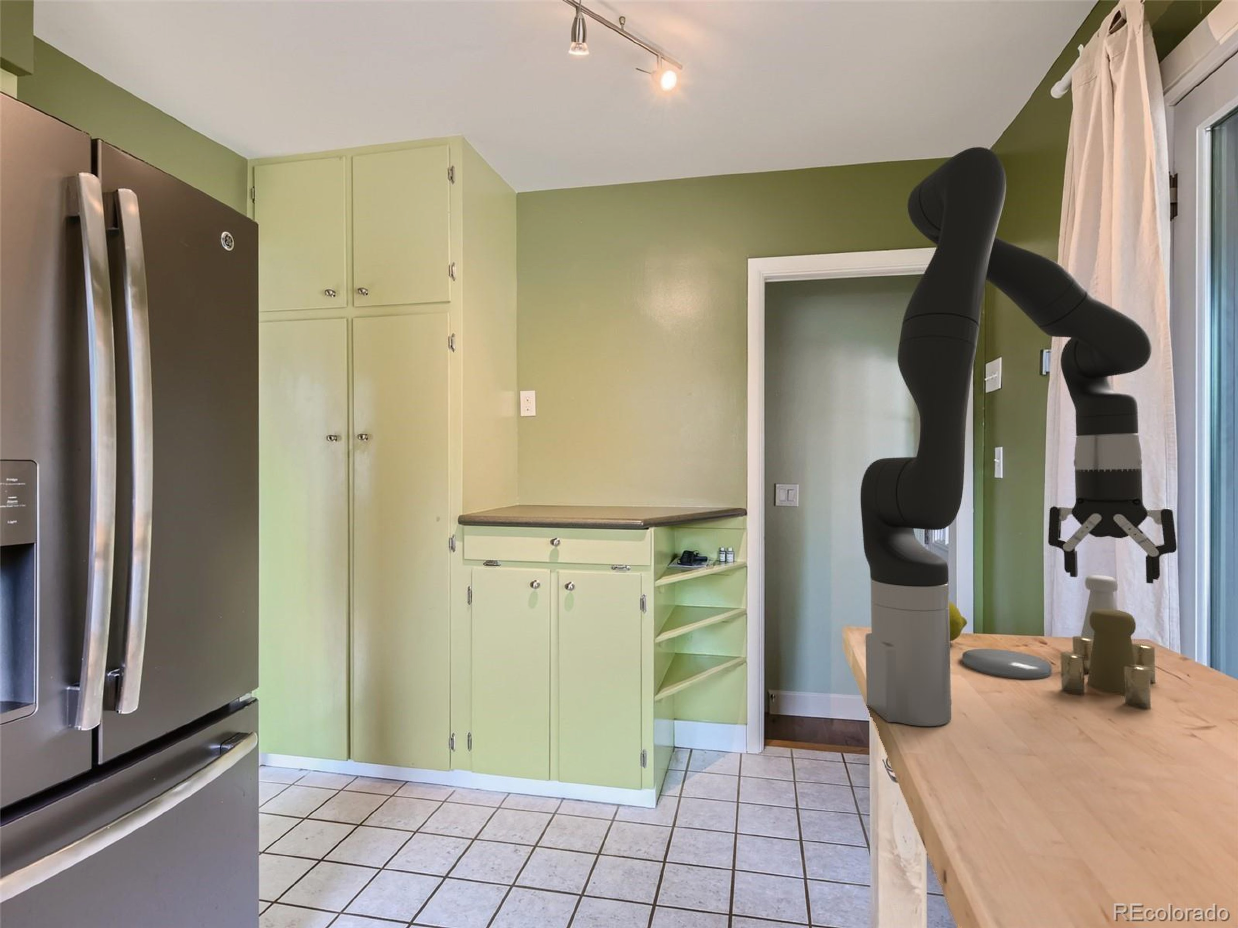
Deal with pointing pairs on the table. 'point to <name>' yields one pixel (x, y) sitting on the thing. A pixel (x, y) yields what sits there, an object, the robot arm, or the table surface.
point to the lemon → (955, 622)
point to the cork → (1110, 649)
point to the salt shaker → (1098, 598)
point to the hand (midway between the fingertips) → (1110, 579)
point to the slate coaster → (1007, 663)
